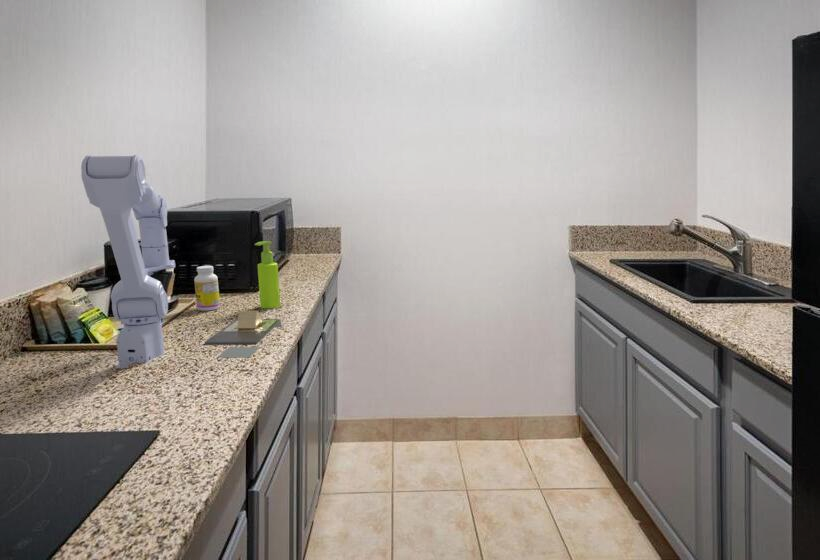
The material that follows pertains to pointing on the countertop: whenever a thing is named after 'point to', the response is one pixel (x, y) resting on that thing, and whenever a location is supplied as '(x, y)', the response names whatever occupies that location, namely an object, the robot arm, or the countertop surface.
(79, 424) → the countertop surface
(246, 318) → the block
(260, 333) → the plate
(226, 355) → the grey square pad
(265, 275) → the soap dispenser
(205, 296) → the supplement bottle
